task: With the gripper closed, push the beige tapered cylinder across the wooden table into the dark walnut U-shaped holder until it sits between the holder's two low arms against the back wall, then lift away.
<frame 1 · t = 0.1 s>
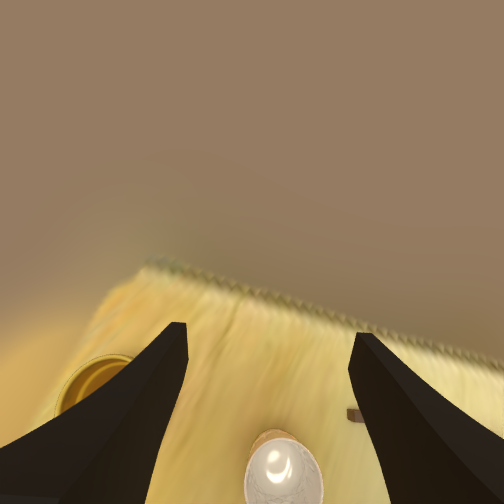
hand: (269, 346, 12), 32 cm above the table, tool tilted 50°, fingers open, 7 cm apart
plant pot: (136, 398, 39), on the table
beige tapered cylinder: (275, 458, 36), on the table
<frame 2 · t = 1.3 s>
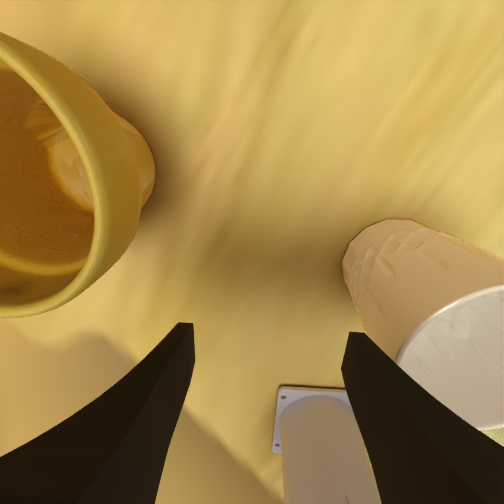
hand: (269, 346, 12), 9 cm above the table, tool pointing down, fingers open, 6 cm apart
plant pot: (106, 163, 18), on the table
beige tapered cylinder: (386, 260, 20), on the table
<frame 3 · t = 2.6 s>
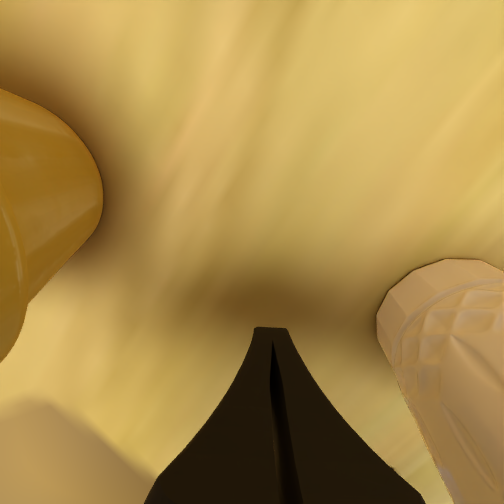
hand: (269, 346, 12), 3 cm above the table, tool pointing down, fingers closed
plant pot: (31, 178, 12), on the table
beige tapered cylinder: (438, 313, 14), on the table
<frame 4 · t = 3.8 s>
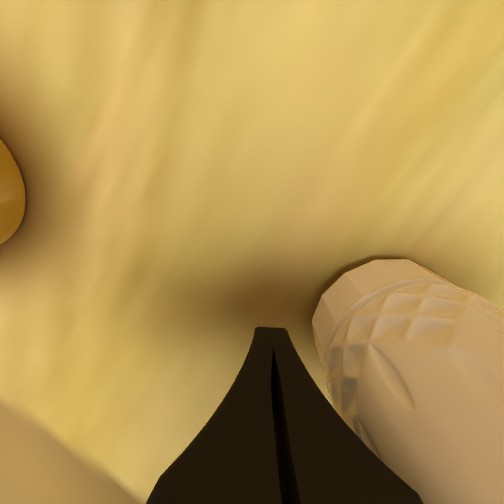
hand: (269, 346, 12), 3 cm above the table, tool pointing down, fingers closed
beige tapered cylinder: (373, 314, 14), on the table, touching gripper
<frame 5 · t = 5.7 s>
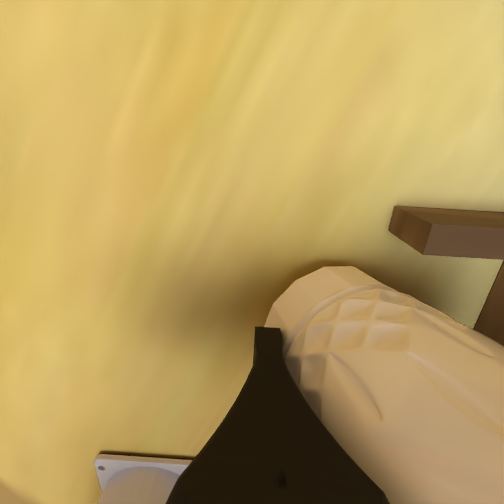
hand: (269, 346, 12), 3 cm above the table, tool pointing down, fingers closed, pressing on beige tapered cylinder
holder: (421, 320, 15), on the table
beige tapered cylinder: (320, 321, 14), point 1 cm above the table, touching gripper
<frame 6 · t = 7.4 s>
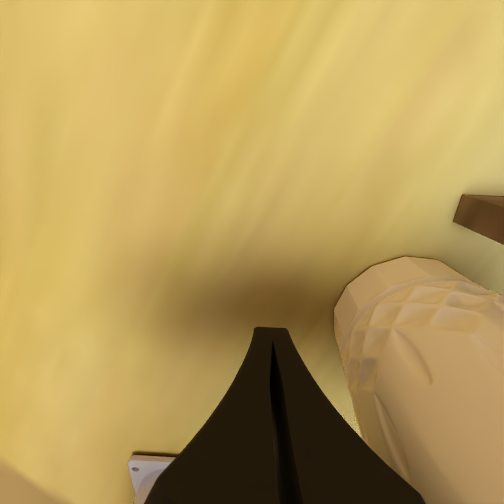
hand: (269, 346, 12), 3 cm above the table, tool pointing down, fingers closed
holder: (479, 317, 14), on the table
beige tapered cylinder: (395, 311, 14), on the table
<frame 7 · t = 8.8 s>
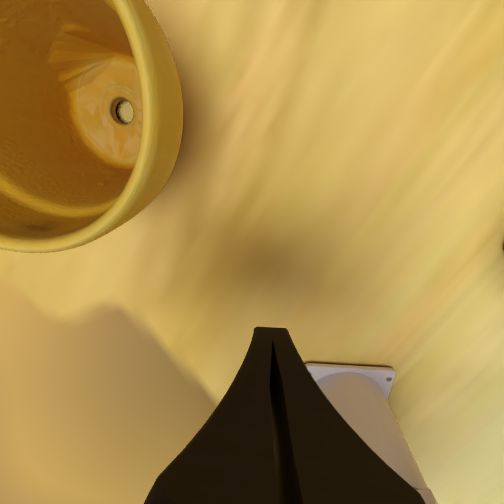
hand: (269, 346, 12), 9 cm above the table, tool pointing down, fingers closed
plant pot: (130, 114, 17), on the table
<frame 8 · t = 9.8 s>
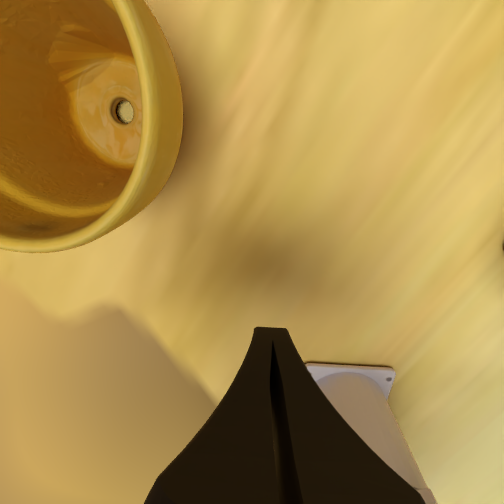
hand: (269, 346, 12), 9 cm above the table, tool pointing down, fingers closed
plant pot: (130, 114, 17), on the table
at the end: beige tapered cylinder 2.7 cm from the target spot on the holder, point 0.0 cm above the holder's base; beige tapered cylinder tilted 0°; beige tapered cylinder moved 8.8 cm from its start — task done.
